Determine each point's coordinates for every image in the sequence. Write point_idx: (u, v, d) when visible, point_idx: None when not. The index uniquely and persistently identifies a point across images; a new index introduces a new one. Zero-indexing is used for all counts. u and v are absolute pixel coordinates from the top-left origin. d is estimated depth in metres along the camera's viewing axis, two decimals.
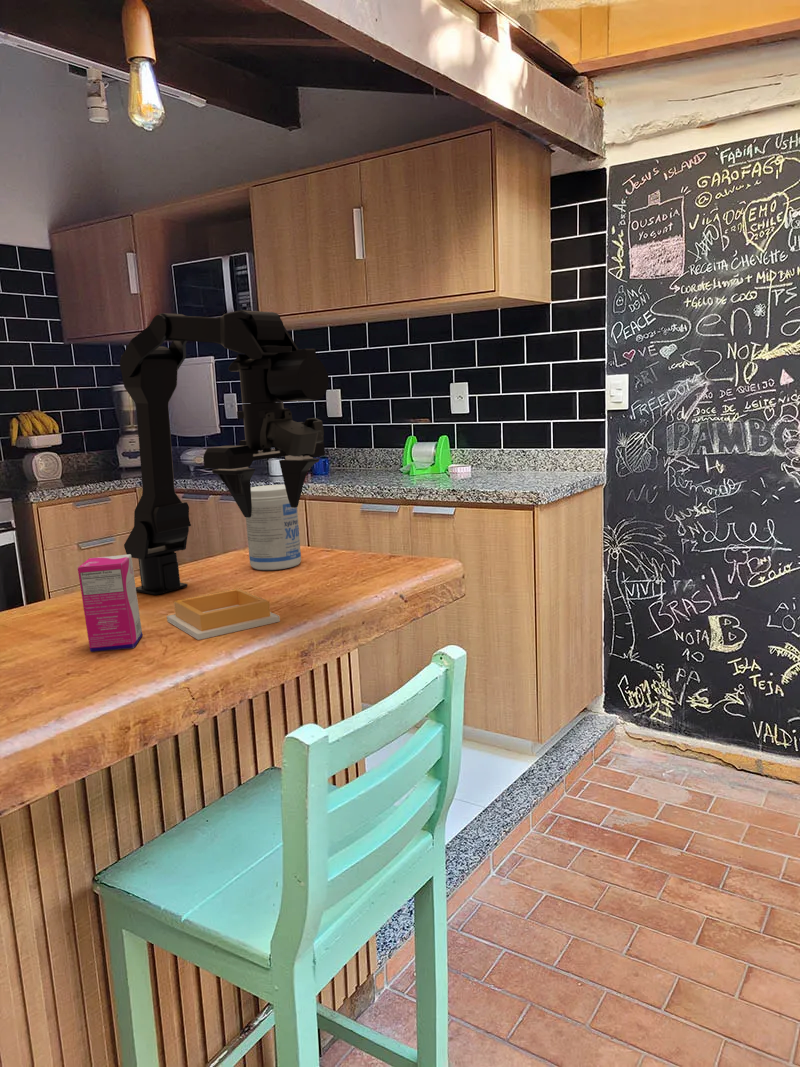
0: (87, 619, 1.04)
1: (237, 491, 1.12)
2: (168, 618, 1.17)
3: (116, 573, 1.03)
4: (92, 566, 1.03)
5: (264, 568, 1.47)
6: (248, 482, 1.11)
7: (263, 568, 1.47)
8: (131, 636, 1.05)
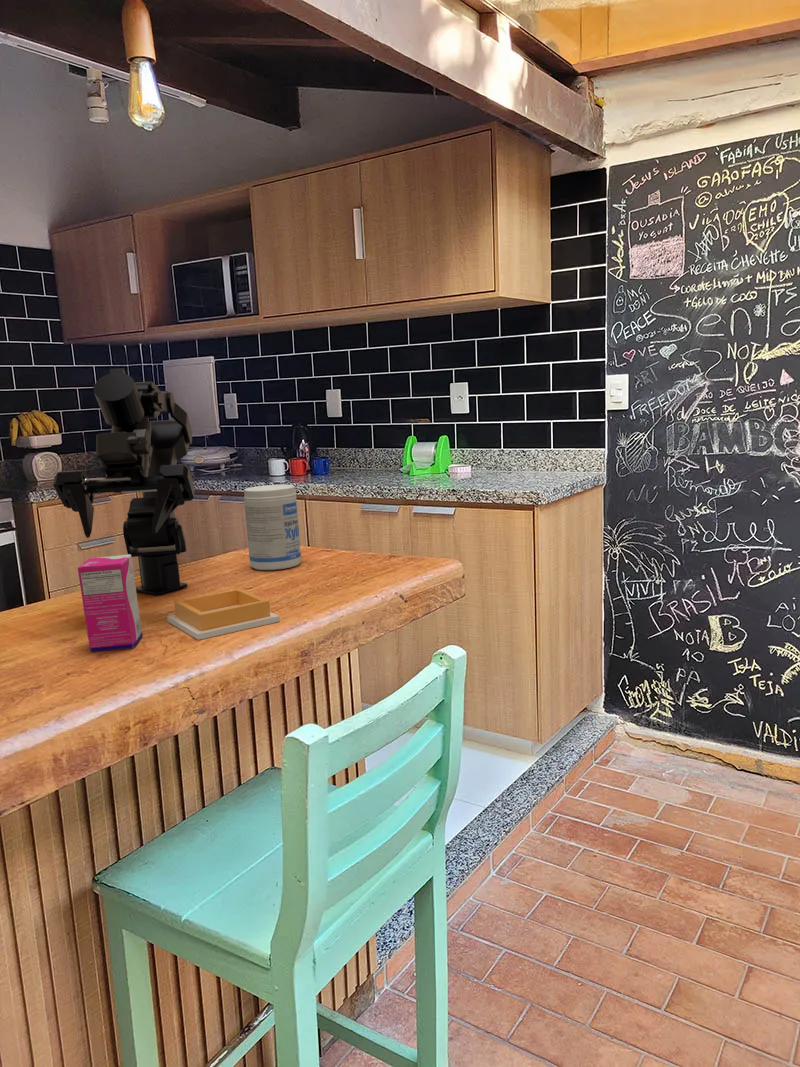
0: (87, 619, 1.04)
1: None
2: (168, 618, 1.17)
3: (116, 573, 1.03)
4: (92, 566, 1.03)
5: (264, 568, 1.47)
6: (83, 501, 1.14)
7: (263, 568, 1.47)
8: (131, 636, 1.05)
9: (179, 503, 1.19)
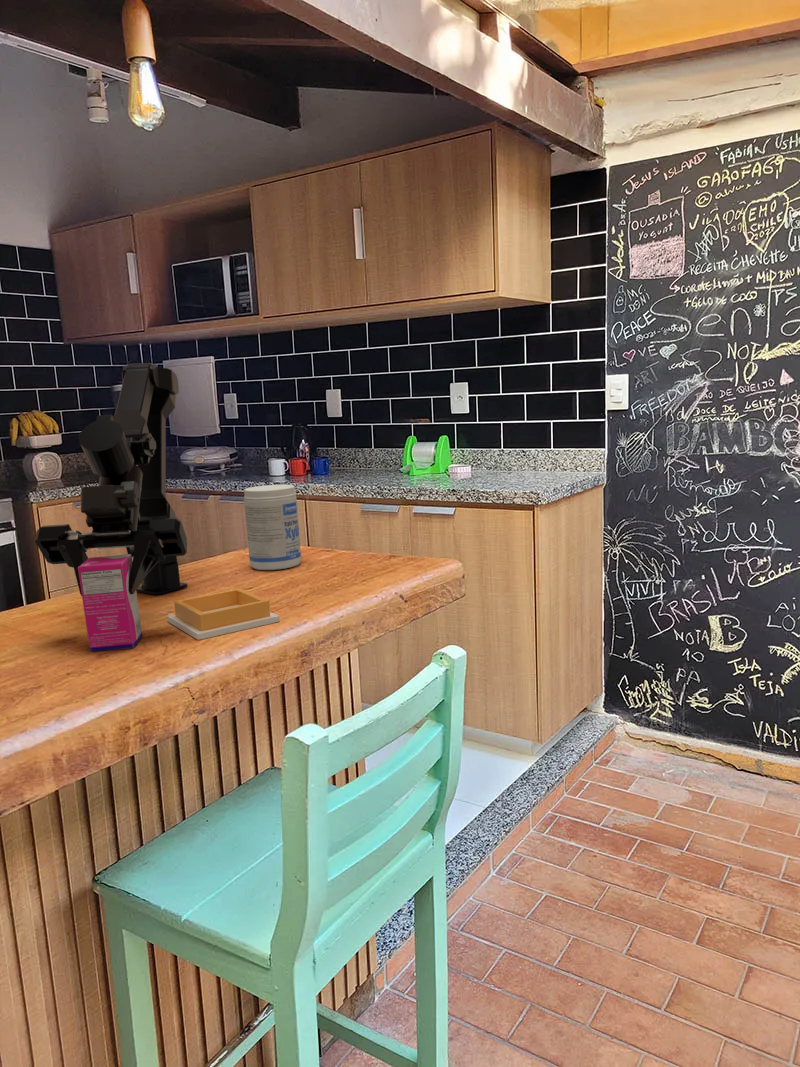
0: (87, 619, 1.04)
1: None
2: (168, 618, 1.17)
3: (116, 573, 1.03)
4: (92, 566, 1.03)
5: (264, 568, 1.47)
6: (79, 557, 1.06)
7: (263, 568, 1.47)
8: (131, 636, 1.05)
9: (159, 559, 1.11)
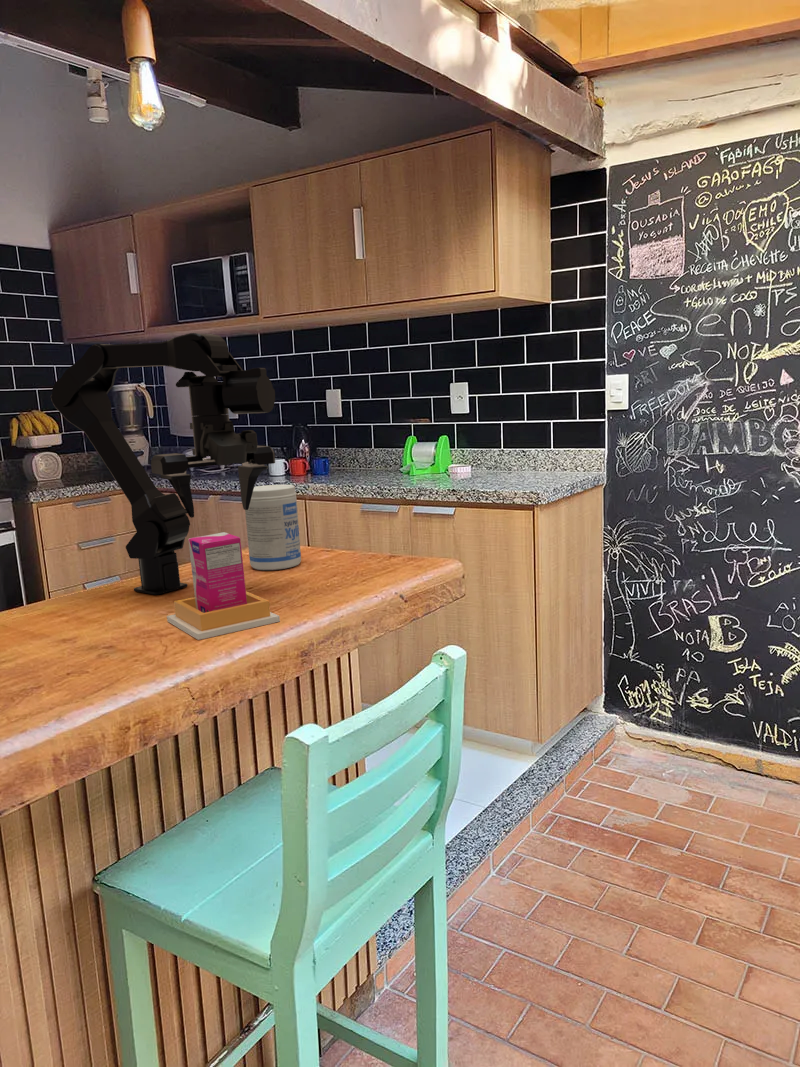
0: (210, 592, 1.11)
1: (181, 494, 1.27)
2: (168, 618, 1.17)
3: (235, 547, 1.12)
4: (214, 542, 1.11)
5: (264, 568, 1.47)
6: (188, 486, 1.25)
7: (263, 568, 1.47)
8: None
9: None
